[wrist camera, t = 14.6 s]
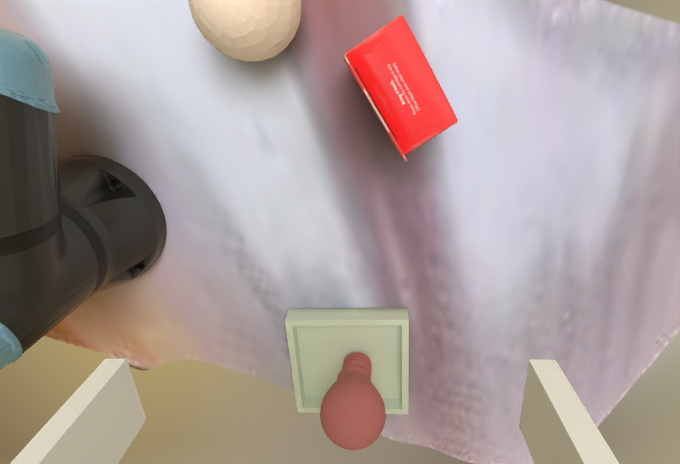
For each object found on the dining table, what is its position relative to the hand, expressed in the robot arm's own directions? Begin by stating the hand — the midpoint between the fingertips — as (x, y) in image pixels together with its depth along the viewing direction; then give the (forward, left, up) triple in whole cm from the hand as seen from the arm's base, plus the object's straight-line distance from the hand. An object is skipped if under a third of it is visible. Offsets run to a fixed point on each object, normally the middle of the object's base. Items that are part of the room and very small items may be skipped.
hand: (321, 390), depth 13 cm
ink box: (+4, +8, -32) cm, 33 cm away
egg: (-8, +15, -32) cm, 36 cm away
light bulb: (-1, -25, -31) cm, 40 cm away
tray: (-2, -25, -32) cm, 40 cm away
